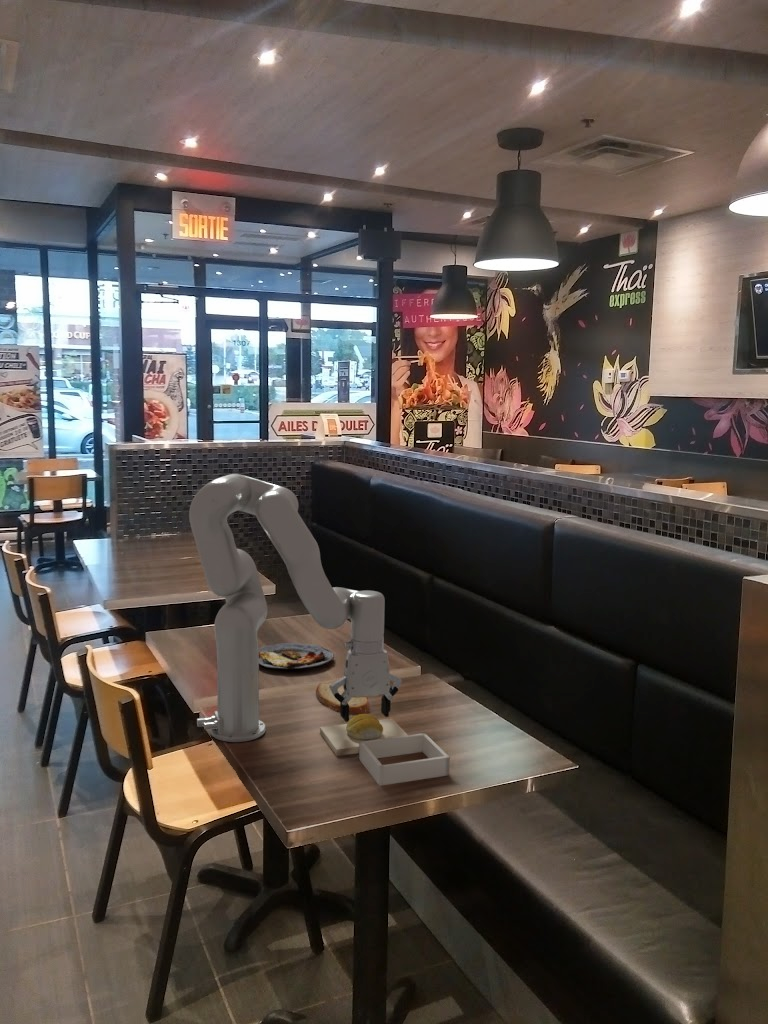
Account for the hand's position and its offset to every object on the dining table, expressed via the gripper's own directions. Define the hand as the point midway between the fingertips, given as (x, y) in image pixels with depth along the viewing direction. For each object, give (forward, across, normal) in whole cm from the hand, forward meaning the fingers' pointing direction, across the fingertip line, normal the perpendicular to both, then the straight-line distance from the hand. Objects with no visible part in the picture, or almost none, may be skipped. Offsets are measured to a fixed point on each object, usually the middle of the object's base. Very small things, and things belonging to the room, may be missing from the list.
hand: (365, 717), depth 191 cm
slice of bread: (+6, +4, +26) cm, 27 cm away
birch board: (+5, 0, 0) cm, 5 cm away
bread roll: (+4, 0, 0) cm, 4 cm away
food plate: (+6, -2, +60) cm, 60 cm away
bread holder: (+5, +3, -16) cm, 17 cm away
